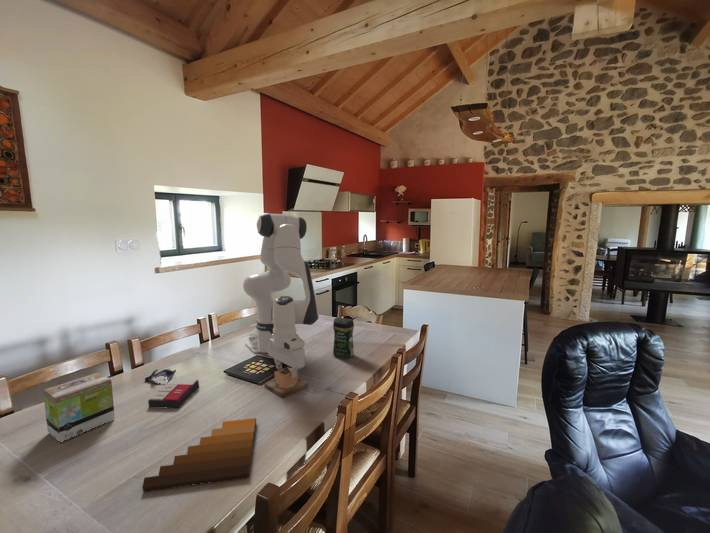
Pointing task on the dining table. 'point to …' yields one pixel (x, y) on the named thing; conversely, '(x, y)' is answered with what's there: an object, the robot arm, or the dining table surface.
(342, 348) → the coffee jar
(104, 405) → the tea box
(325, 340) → the dining table surface
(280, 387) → the post stand
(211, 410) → the dining table surface
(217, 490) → the dining table surface
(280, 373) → the collar
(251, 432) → the pan flute
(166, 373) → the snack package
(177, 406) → the black and red box
